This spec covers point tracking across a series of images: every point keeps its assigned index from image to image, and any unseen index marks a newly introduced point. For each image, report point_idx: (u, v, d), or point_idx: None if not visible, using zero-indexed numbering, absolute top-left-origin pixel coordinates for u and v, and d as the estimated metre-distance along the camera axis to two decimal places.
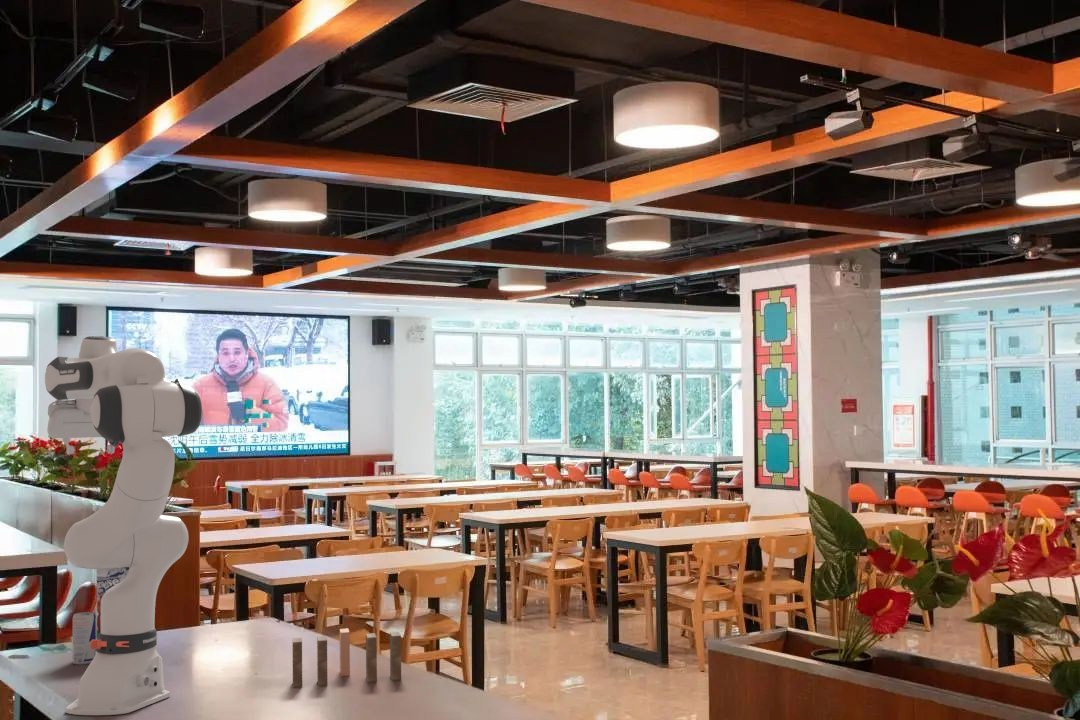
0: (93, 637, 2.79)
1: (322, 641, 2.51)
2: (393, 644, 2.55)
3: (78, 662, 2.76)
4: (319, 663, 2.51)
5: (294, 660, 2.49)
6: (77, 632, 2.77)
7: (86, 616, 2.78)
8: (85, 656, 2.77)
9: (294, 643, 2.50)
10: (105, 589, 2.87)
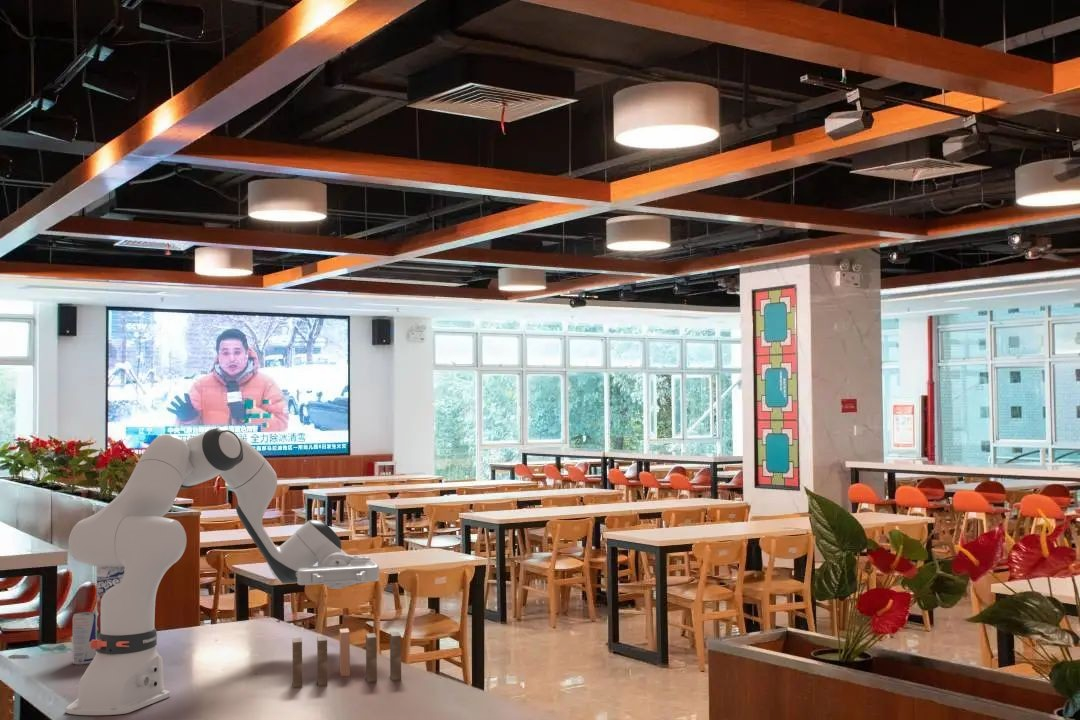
0: (93, 637, 2.79)
1: (322, 641, 2.51)
2: (393, 644, 2.55)
3: (78, 662, 2.76)
4: (319, 663, 2.51)
5: (294, 660, 2.49)
6: (77, 632, 2.77)
7: (86, 616, 2.78)
8: (85, 656, 2.77)
9: (294, 643, 2.50)
10: (105, 589, 2.87)
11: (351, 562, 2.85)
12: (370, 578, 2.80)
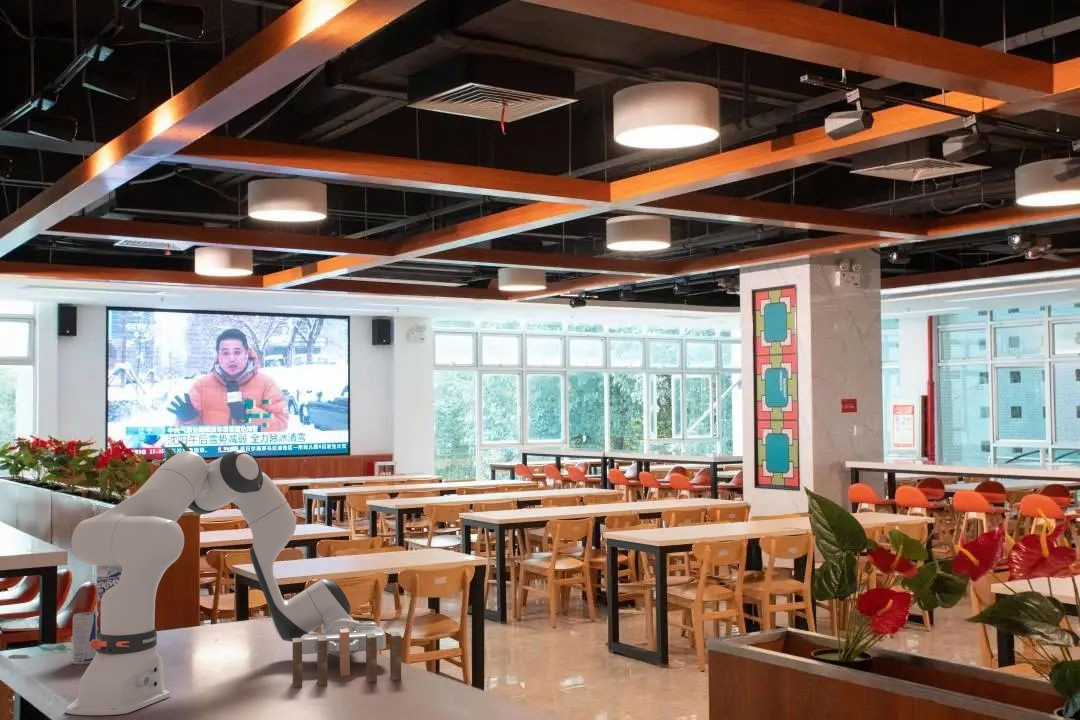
0: (93, 637, 2.79)
1: (322, 641, 2.51)
2: (393, 644, 2.55)
3: (78, 662, 2.76)
4: (319, 663, 2.51)
5: (294, 660, 2.49)
6: (77, 632, 2.77)
7: (86, 616, 2.78)
8: (85, 656, 2.77)
9: (294, 643, 2.50)
10: (105, 589, 2.87)
11: (356, 628, 2.73)
12: (377, 646, 2.68)
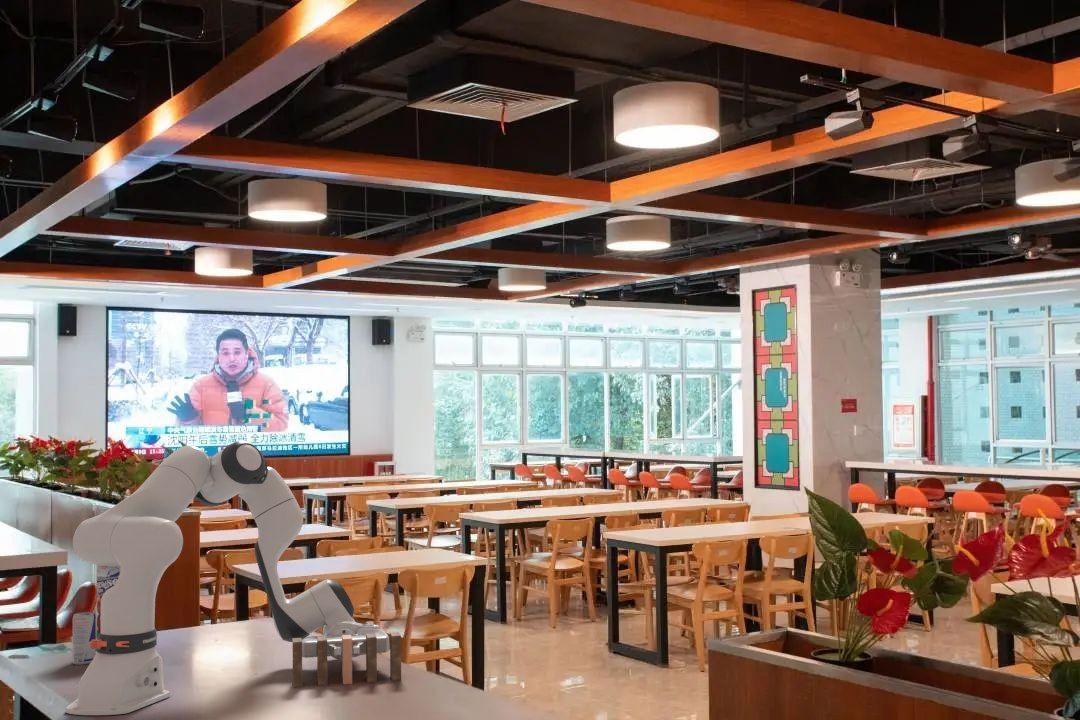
0: (93, 637, 2.79)
1: (322, 641, 2.51)
2: (393, 644, 2.55)
3: (78, 662, 2.76)
4: (319, 663, 2.51)
5: (294, 660, 2.49)
6: (77, 632, 2.77)
7: (86, 616, 2.78)
8: (85, 656, 2.77)
9: (294, 643, 2.50)
10: (105, 589, 2.87)
11: (359, 631, 2.65)
12: (380, 649, 2.60)
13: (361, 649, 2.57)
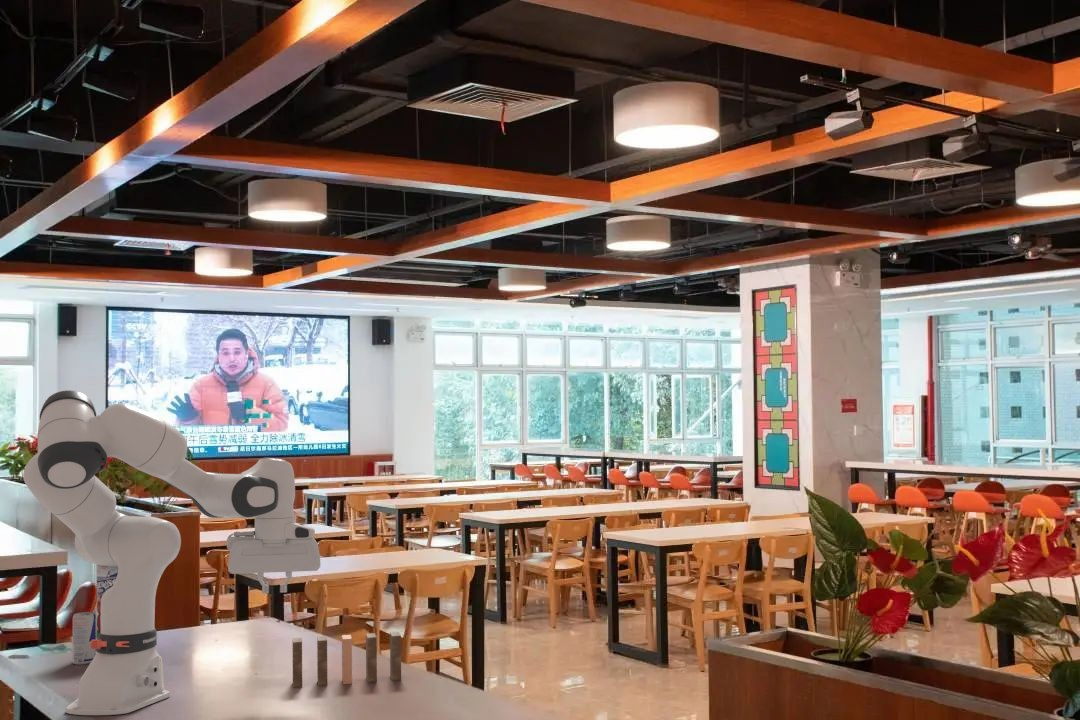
0: (93, 637, 2.79)
1: (322, 641, 2.51)
2: (393, 644, 2.55)
3: (78, 662, 2.76)
4: (319, 663, 2.51)
5: (294, 660, 2.49)
6: (77, 632, 2.77)
7: (86, 616, 2.78)
8: (85, 656, 2.77)
9: (294, 643, 2.50)
10: (105, 589, 2.87)
11: (291, 544, 2.51)
12: None
13: None
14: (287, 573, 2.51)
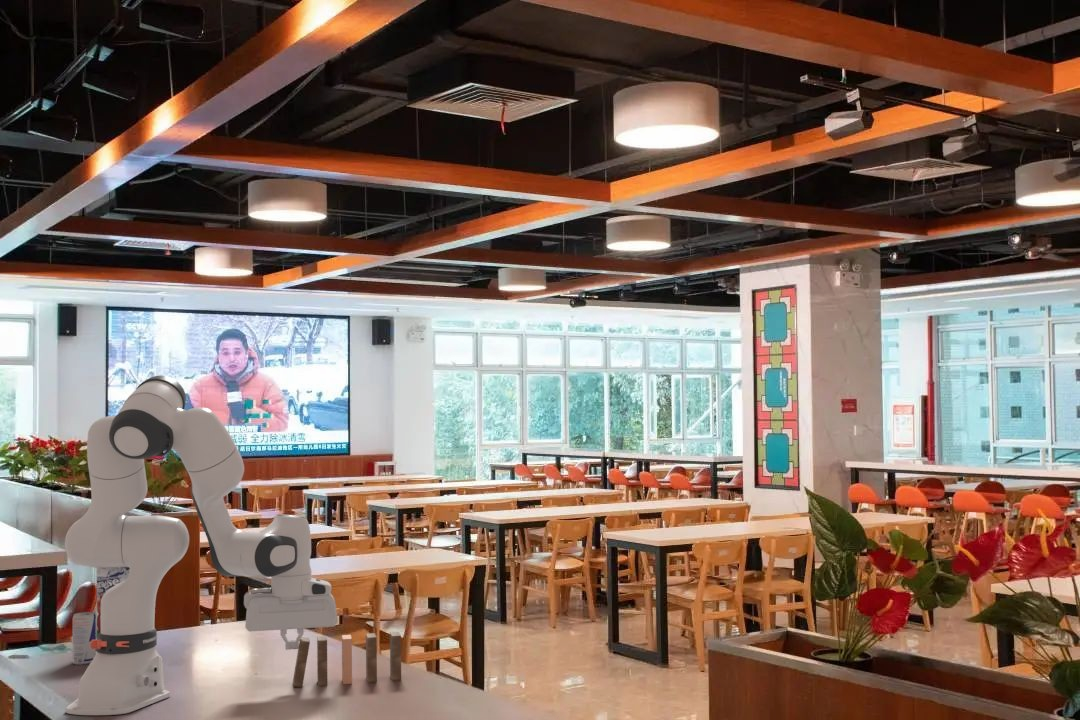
0: (93, 637, 2.79)
1: (322, 641, 2.51)
2: (393, 644, 2.55)
3: (78, 662, 2.76)
4: (319, 663, 2.51)
5: (299, 659, 2.50)
6: (77, 632, 2.77)
7: (86, 616, 2.78)
8: (85, 656, 2.77)
9: (302, 642, 2.50)
10: (105, 589, 2.87)
11: (308, 601, 2.50)
12: None
13: None
14: (299, 630, 2.51)
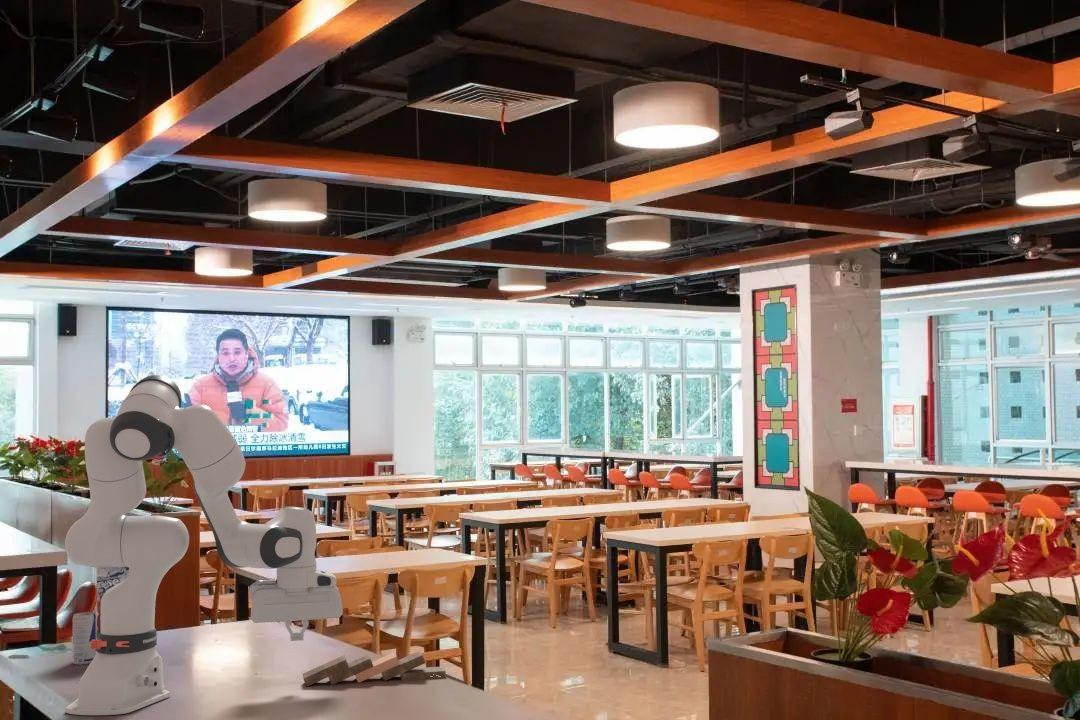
0: (93, 637, 2.79)
1: (370, 662, 2.53)
2: (437, 672, 2.56)
3: (78, 662, 2.76)
4: (349, 668, 2.52)
5: (329, 668, 2.51)
6: (77, 632, 2.77)
7: (86, 616, 2.78)
8: (85, 656, 2.77)
9: (345, 661, 2.52)
10: (105, 589, 2.87)
11: (313, 592, 2.52)
12: None
13: None
14: (304, 621, 2.52)
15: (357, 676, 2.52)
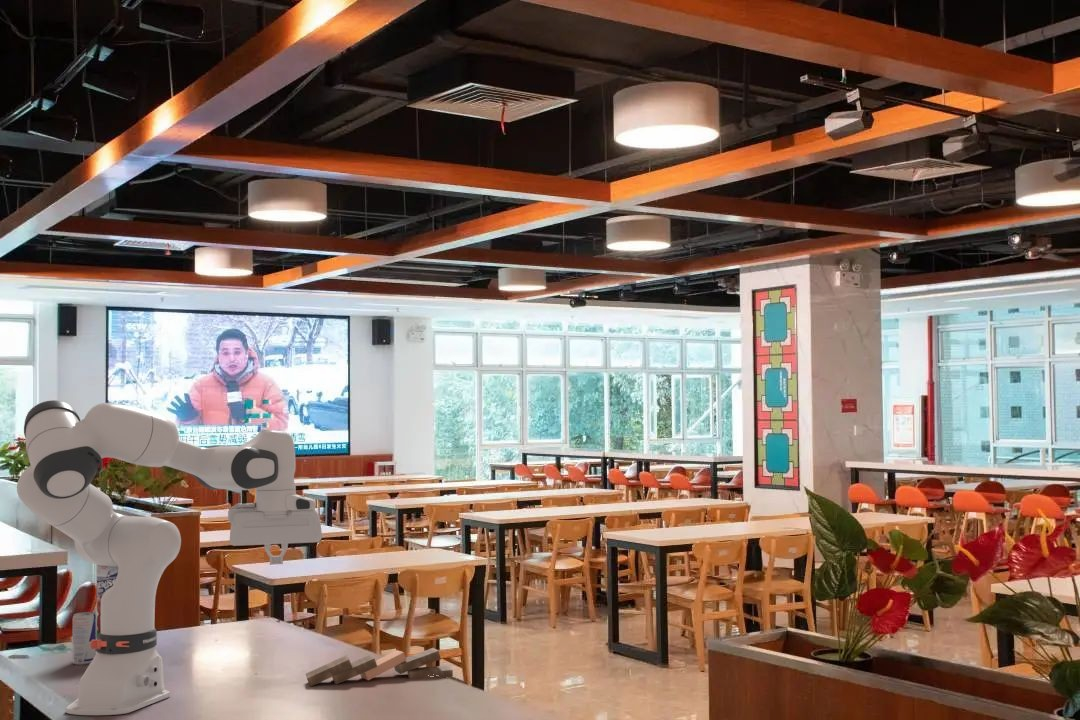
0: (93, 637, 2.79)
1: (375, 662, 2.54)
2: (444, 671, 2.57)
3: (78, 662, 2.76)
4: (353, 668, 2.52)
5: (332, 668, 2.51)
6: (77, 632, 2.77)
7: (86, 616, 2.78)
8: (85, 656, 2.77)
9: (348, 661, 2.52)
10: (105, 589, 2.87)
11: (292, 516, 2.51)
12: None
13: None
14: (283, 545, 2.51)
15: (367, 673, 2.53)
